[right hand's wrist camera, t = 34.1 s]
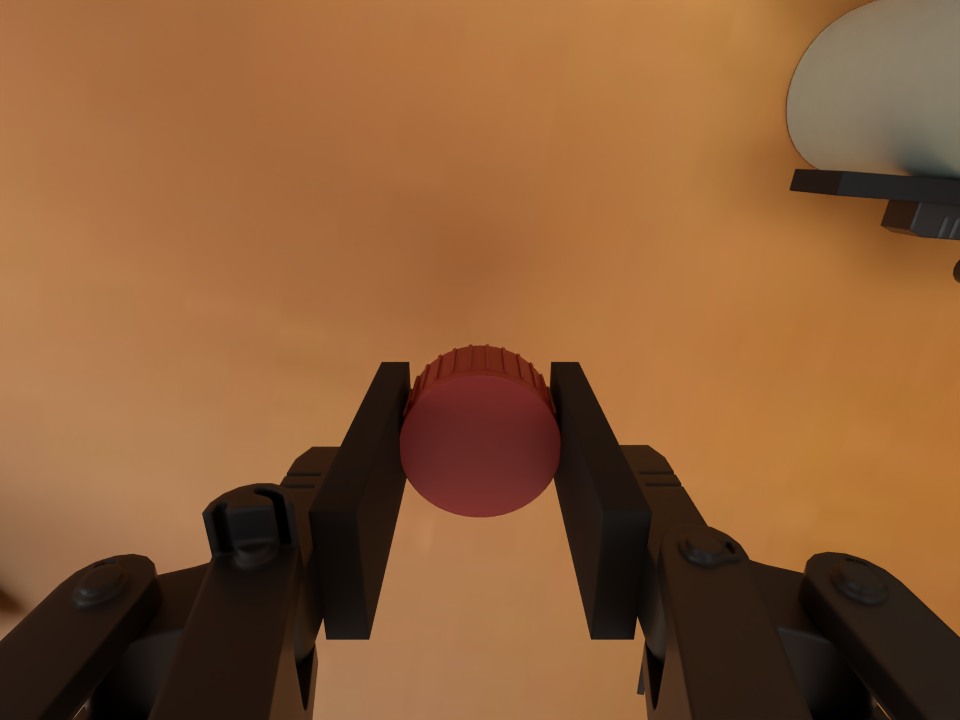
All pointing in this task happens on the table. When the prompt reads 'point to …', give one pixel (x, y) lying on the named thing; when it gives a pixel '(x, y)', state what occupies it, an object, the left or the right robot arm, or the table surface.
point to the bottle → (882, 91)
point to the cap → (480, 432)
